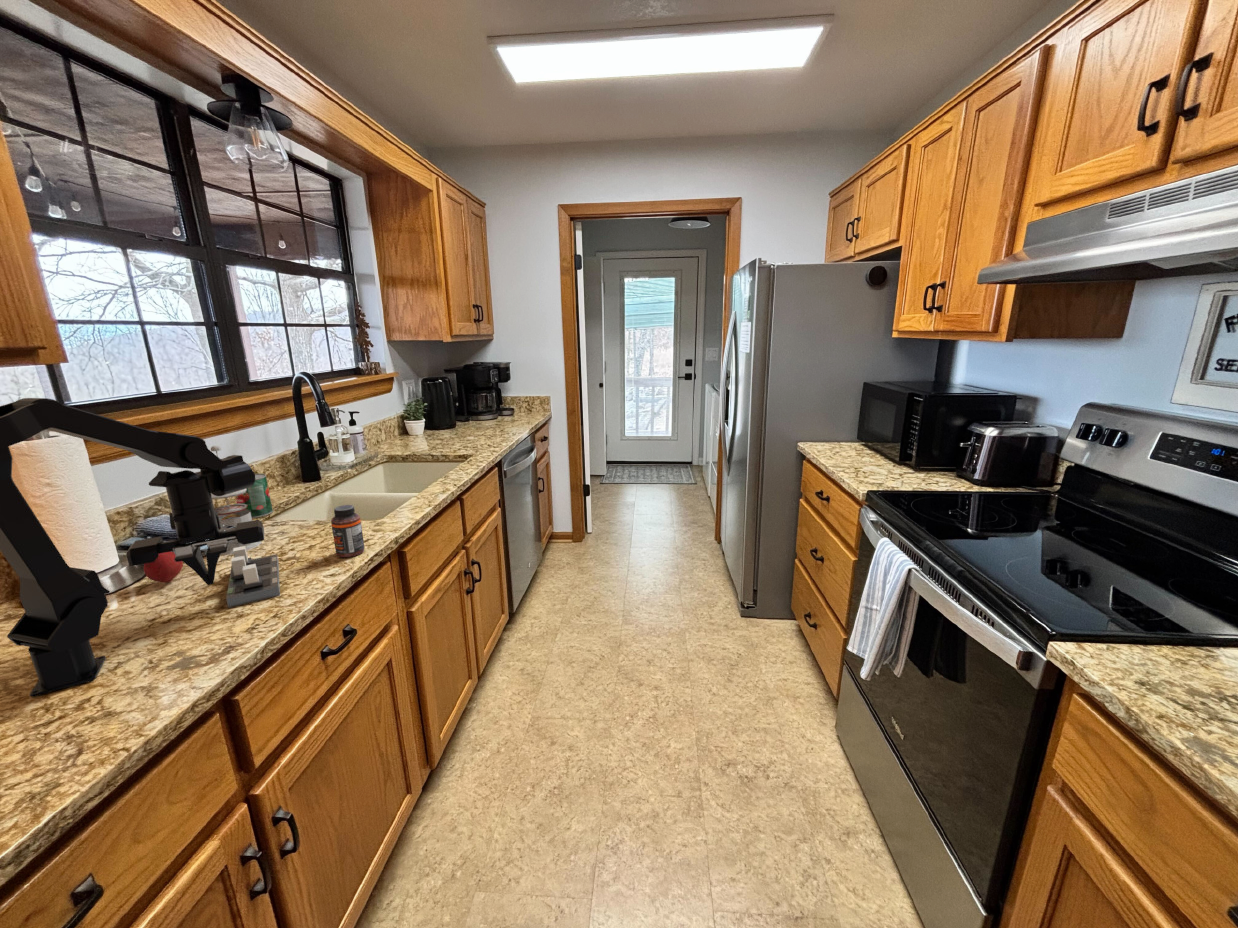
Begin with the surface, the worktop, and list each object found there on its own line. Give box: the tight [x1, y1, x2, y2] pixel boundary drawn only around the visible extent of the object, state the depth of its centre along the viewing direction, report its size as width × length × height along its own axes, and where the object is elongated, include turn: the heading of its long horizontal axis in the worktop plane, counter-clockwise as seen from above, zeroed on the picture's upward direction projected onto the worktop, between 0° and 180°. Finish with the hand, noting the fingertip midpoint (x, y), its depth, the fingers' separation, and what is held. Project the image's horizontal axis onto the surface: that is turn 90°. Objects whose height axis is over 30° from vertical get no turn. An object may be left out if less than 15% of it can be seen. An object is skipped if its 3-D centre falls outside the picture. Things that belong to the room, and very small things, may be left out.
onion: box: [143, 551, 184, 584], centre depth 101 cm, size 6×6×8 cm
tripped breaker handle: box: [242, 564, 262, 589], centre depth 95 cm, size 3×3×4 cm
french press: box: [210, 445, 263, 556], centre depth 116 cm, size 10×12×25 cm
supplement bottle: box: [330, 504, 365, 559], centre depth 114 cm, size 6×6×11 cm
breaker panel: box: [226, 553, 281, 609], centre depth 101 cm, size 18×8×2 cm, turn 35°
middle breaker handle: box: [230, 556, 246, 580], centre depth 99 cm, size 3×3×4 cm
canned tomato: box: [234, 473, 274, 519], centre depth 141 cm, size 8×8×11 cm
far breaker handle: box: [232, 546, 252, 566], centre depth 104 cm, size 3×3×4 cm
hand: (210, 583), depth 92 cm, fingers closed
